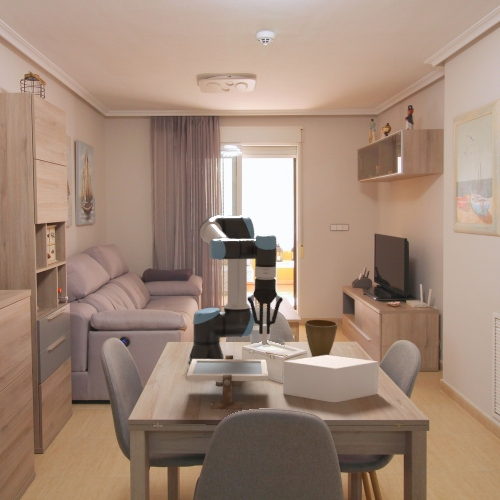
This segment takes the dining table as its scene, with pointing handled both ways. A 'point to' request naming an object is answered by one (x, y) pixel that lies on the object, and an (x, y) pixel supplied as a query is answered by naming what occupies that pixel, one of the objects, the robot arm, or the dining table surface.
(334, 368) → the block
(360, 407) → the dining table surface
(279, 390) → the dining table surface
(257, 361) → the tilted frame
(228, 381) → the walnut stand
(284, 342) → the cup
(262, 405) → the dining table surface
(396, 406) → the dining table surface
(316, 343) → the plant pot
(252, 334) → the candle holder
